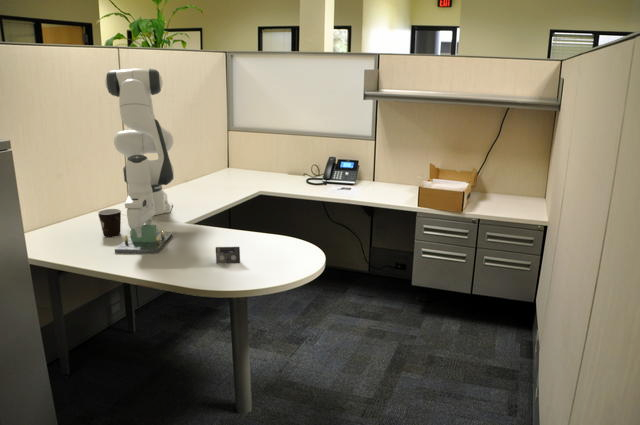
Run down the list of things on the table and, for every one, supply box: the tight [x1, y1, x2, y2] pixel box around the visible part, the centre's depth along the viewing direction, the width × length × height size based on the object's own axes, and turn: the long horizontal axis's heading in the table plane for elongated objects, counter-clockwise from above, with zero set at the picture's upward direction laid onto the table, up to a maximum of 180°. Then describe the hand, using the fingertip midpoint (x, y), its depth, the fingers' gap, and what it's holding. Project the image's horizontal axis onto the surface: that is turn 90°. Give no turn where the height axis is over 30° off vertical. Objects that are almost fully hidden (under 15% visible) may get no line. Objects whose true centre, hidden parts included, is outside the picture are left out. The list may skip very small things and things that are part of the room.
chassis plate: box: [114, 230, 174, 254], centre depth 206 cm, size 20×16×4 cm
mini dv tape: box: [215, 246, 241, 265], centre depth 187 cm, size 8×2×6 cm, turn 92°
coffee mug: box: [97, 208, 122, 238], centre depth 216 cm, size 12×9×10 cm
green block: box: [130, 224, 158, 242], centre depth 206 cm, size 3×9×6 cm, turn 89°
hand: (144, 232), depth 206 cm, fingers open, 8 cm apart
